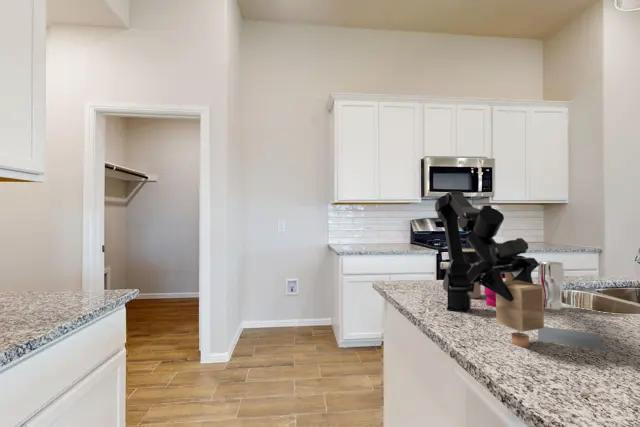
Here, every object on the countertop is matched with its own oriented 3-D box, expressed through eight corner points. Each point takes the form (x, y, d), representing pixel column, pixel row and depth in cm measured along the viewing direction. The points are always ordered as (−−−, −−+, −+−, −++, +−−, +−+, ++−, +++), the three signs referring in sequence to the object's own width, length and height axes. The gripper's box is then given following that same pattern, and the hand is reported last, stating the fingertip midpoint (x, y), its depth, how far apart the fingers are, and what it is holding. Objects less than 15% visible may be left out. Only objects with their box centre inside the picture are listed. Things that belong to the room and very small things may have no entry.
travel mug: (474, 293, 133) (473, 248, 133) (484, 298, 125) (483, 250, 125) (454, 294, 133) (453, 248, 133) (463, 299, 125) (462, 250, 125)
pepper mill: (480, 302, 120) (479, 246, 120) (499, 301, 121) (498, 245, 121) (492, 307, 113) (490, 248, 113) (512, 306, 113) (511, 247, 113)
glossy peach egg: (511, 346, 80) (510, 336, 80) (512, 341, 83) (512, 331, 83) (528, 349, 78) (528, 338, 78) (529, 344, 81) (529, 334, 81)
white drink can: (569, 311, 107) (567, 264, 107) (544, 310, 108) (543, 264, 108) (558, 305, 114) (557, 261, 114) (535, 304, 115) (534, 261, 115)
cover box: (496, 322, 83) (495, 282, 83) (518, 319, 85) (517, 280, 85) (521, 331, 77) (520, 288, 77) (544, 327, 79) (543, 285, 79)
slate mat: (537, 341, 83) (537, 339, 83) (538, 327, 93) (538, 325, 93) (606, 352, 76) (606, 350, 76) (598, 335, 86) (598, 334, 86)
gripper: (474, 229, 82) (514, 283, 71) (531, 226, 88) (576, 276, 77) (452, 257, 89) (485, 310, 79) (506, 253, 95) (544, 301, 85)
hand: (524, 298), depth 80 cm, fingers closed on cover box, 7 cm apart
